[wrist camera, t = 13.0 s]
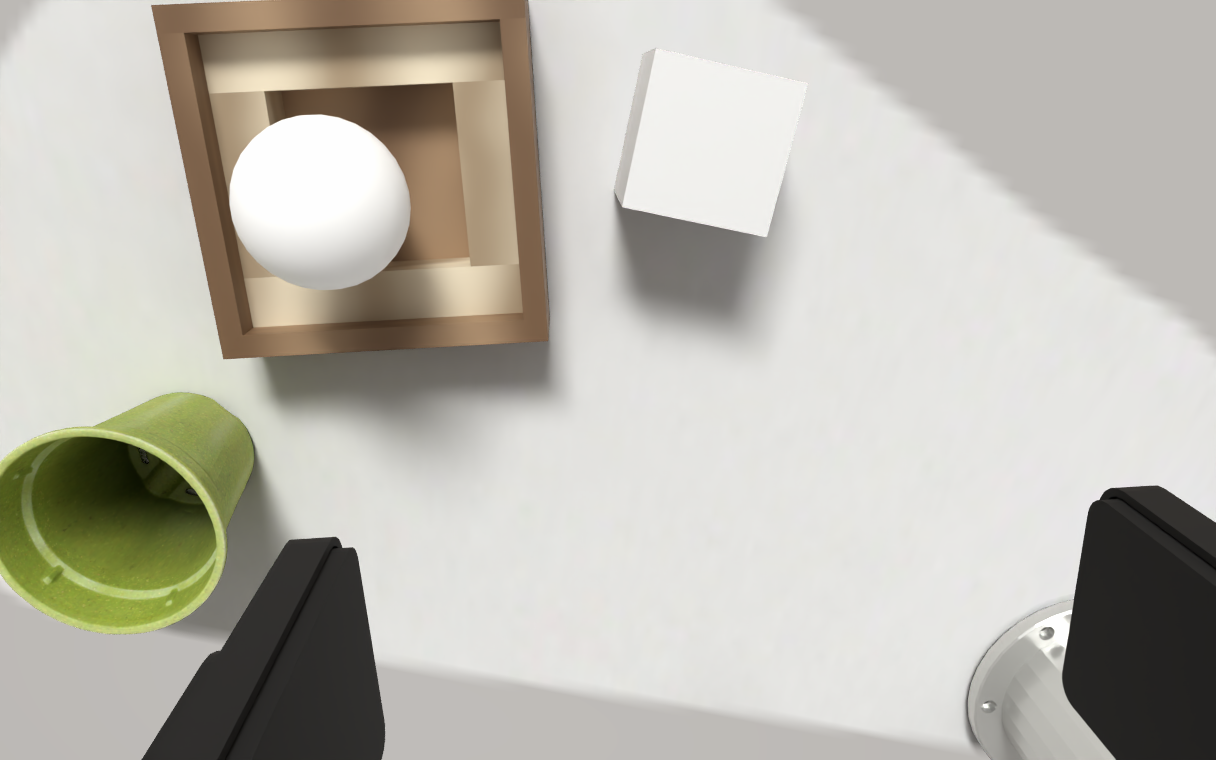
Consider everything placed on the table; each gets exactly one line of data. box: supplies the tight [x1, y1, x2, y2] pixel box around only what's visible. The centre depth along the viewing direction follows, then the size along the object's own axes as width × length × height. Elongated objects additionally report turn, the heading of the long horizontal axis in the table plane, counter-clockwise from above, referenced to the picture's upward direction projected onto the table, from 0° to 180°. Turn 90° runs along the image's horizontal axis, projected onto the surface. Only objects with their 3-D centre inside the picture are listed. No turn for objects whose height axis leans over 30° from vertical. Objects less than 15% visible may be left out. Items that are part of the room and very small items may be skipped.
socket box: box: [151, 0, 550, 359], centre depth 36 cm, size 14×14×4 cm
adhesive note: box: [614, 48, 809, 237], centre depth 35 cm, size 6×6×6 cm
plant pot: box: [0, 393, 254, 634], centre depth 38 cm, size 9×9×9 cm
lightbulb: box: [229, 115, 411, 290], centre depth 32 cm, size 6×6×11 cm
